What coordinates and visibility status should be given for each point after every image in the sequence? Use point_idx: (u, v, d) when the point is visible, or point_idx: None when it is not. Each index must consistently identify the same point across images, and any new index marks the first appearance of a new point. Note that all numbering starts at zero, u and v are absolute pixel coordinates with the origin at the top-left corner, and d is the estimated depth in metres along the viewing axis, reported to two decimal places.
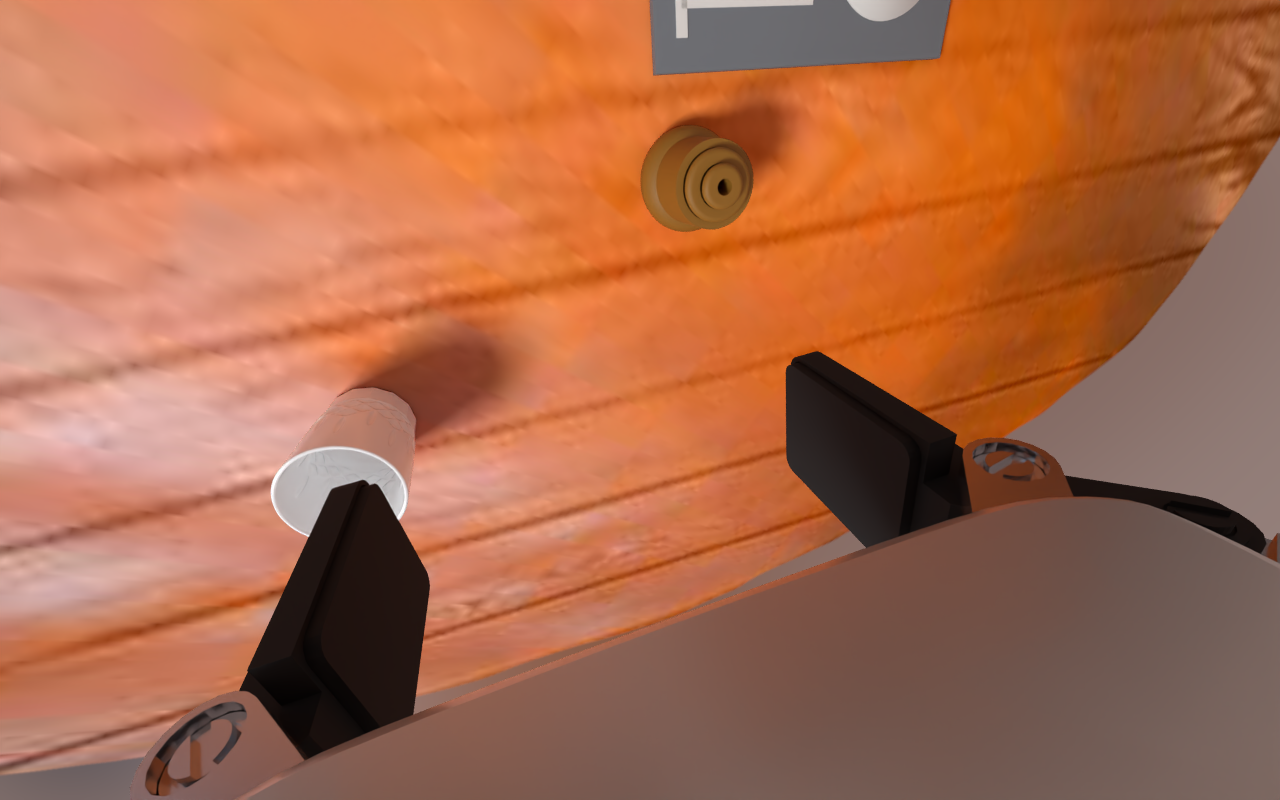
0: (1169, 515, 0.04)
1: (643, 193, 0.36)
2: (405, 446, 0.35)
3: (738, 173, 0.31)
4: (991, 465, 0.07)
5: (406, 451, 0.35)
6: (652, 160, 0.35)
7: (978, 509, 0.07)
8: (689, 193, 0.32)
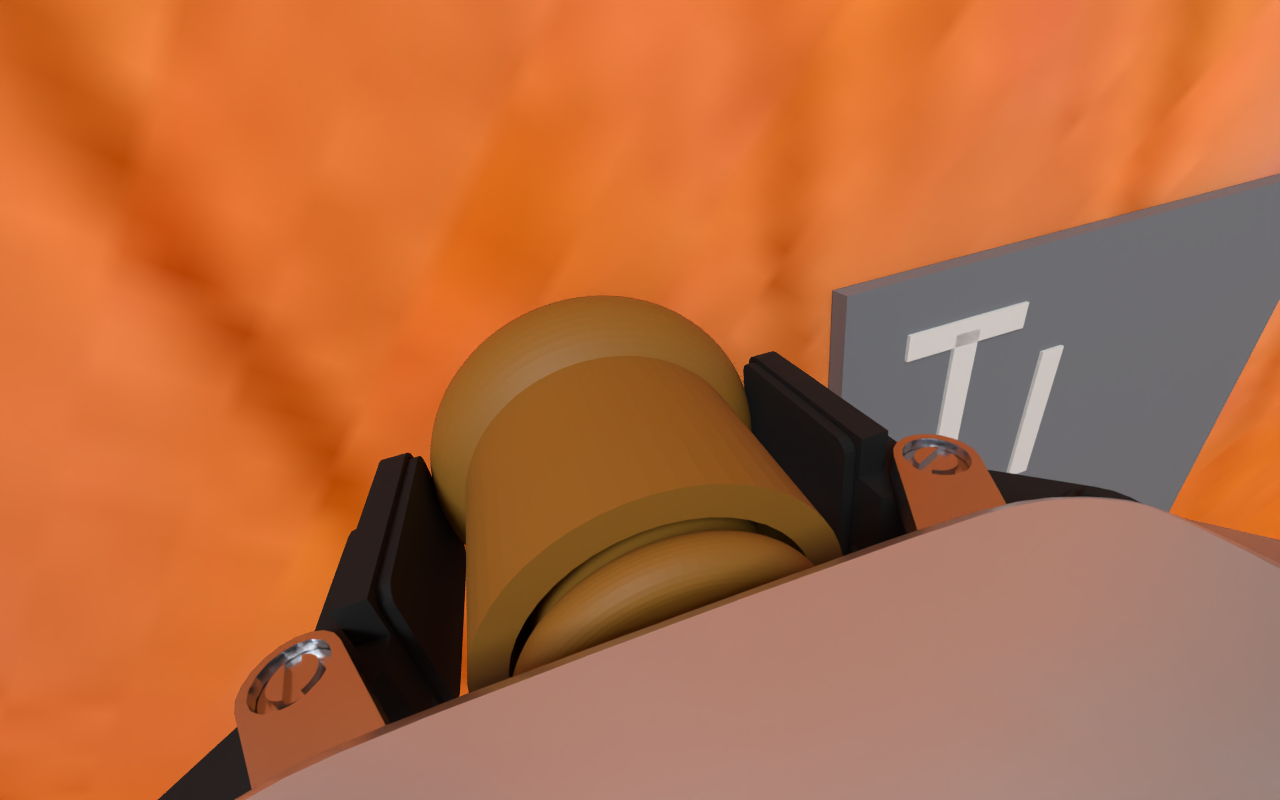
0: (1169, 515, 0.04)
1: (539, 315, 0.09)
2: None
3: None
4: (920, 462, 0.08)
5: None
6: (661, 329, 0.10)
7: (916, 507, 0.07)
8: (649, 588, 0.05)
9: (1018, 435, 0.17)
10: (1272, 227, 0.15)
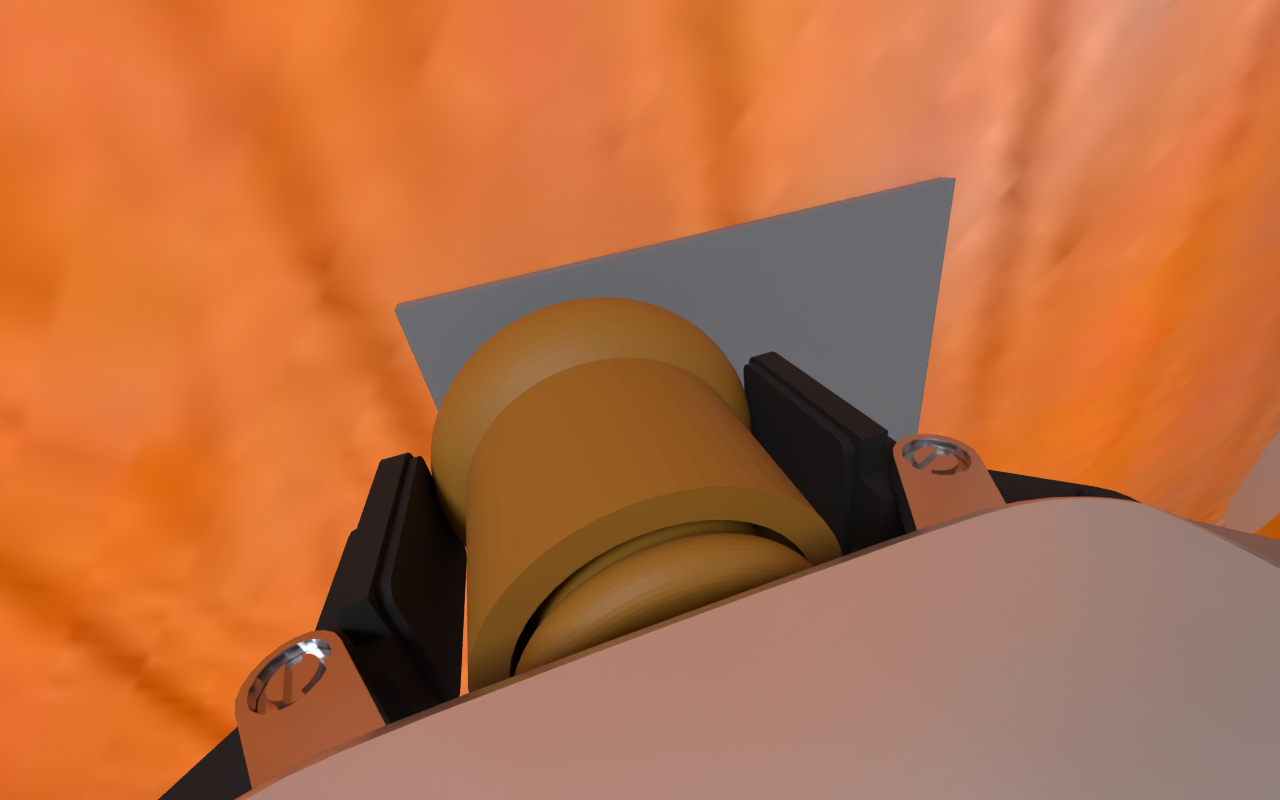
0: (1169, 515, 0.04)
1: (539, 316, 0.09)
2: None
3: None
4: (920, 462, 0.08)
5: None
6: (661, 330, 0.10)
7: (916, 508, 0.07)
8: (650, 591, 0.05)
9: None
10: (890, 239, 0.16)
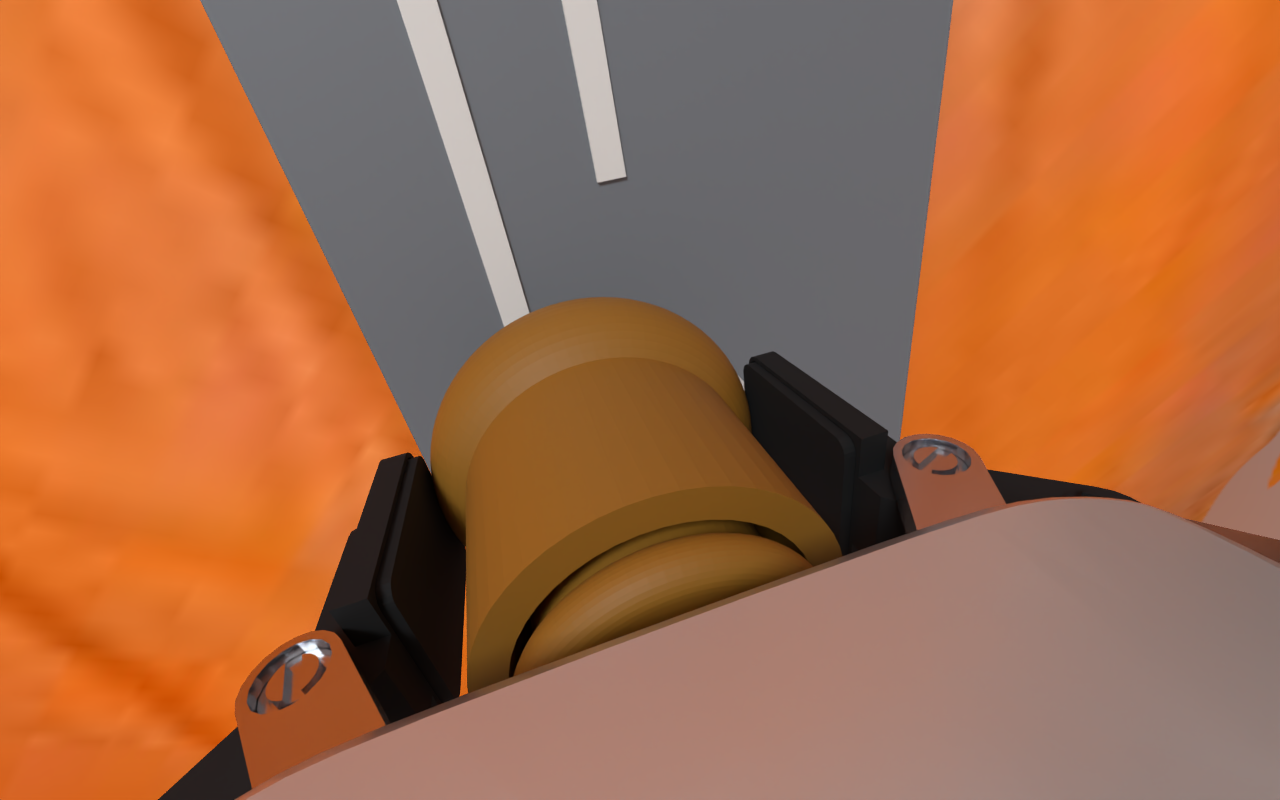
0: (1169, 515, 0.04)
1: (539, 316, 0.09)
2: None
3: None
4: (920, 462, 0.08)
5: None
6: (660, 330, 0.10)
7: (916, 507, 0.07)
8: (649, 591, 0.05)
9: (582, 104, 0.12)
10: None
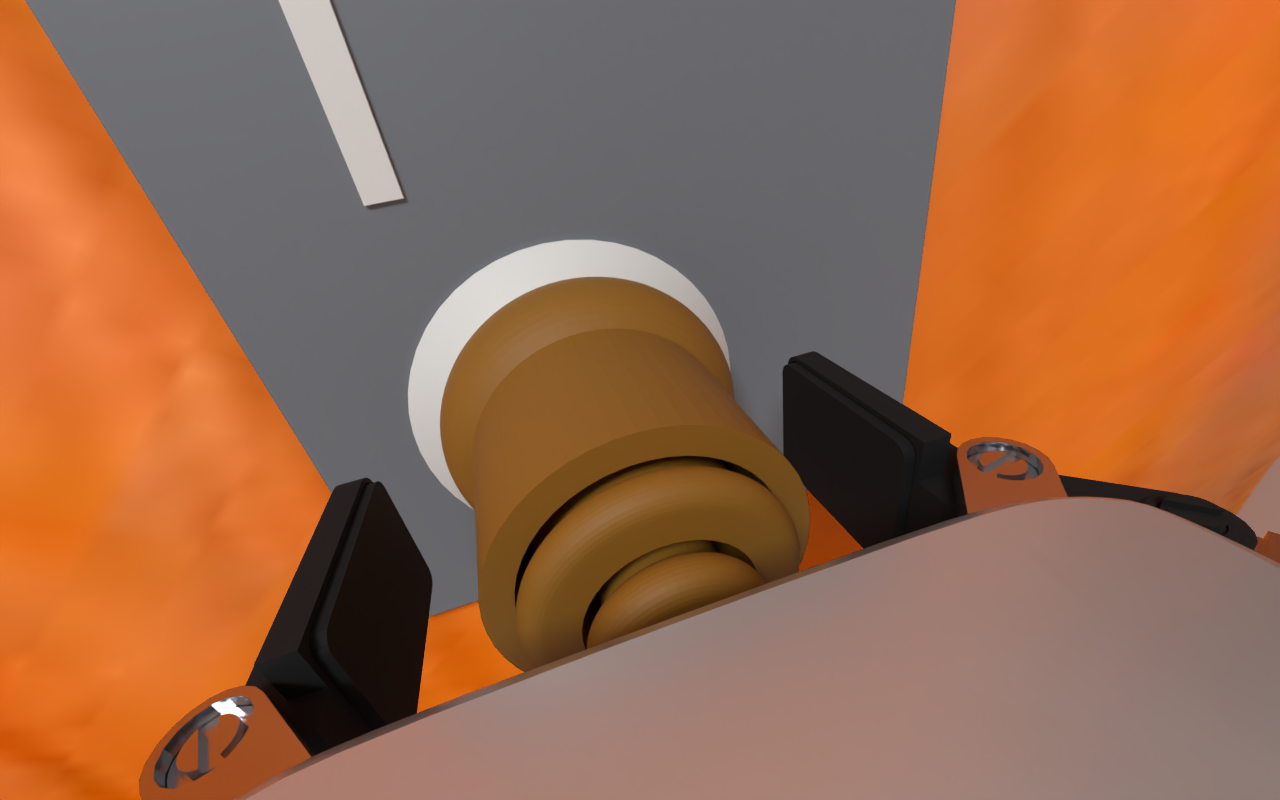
0: (1169, 515, 0.04)
1: (539, 292, 0.10)
2: None
3: None
4: (985, 464, 0.07)
5: None
6: (650, 305, 0.10)
7: (973, 508, 0.07)
8: (635, 509, 0.06)
9: None
10: None
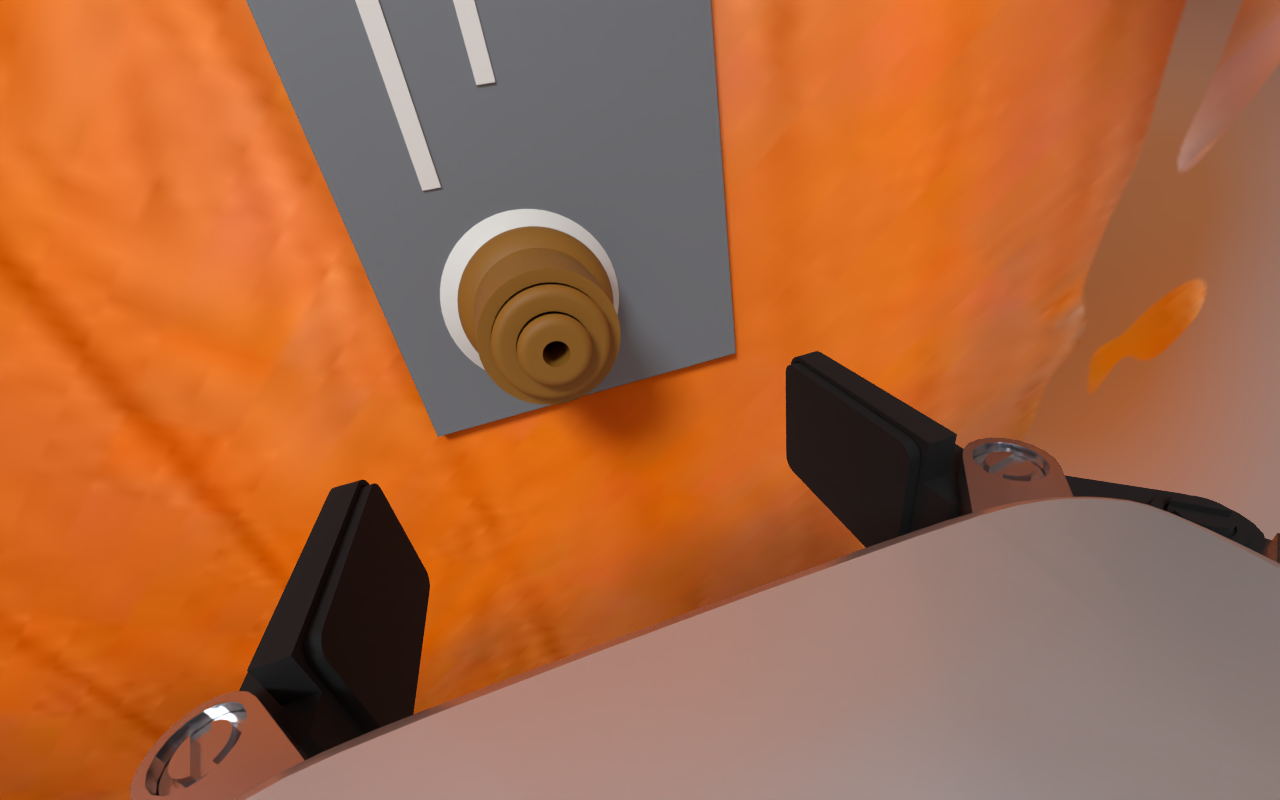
0: (1169, 515, 0.04)
1: (506, 232, 0.22)
2: None
3: (580, 372, 0.18)
4: (991, 465, 0.07)
5: None
6: (559, 238, 0.22)
7: (978, 509, 0.07)
8: (533, 294, 0.18)
9: (462, 32, 0.19)
10: None
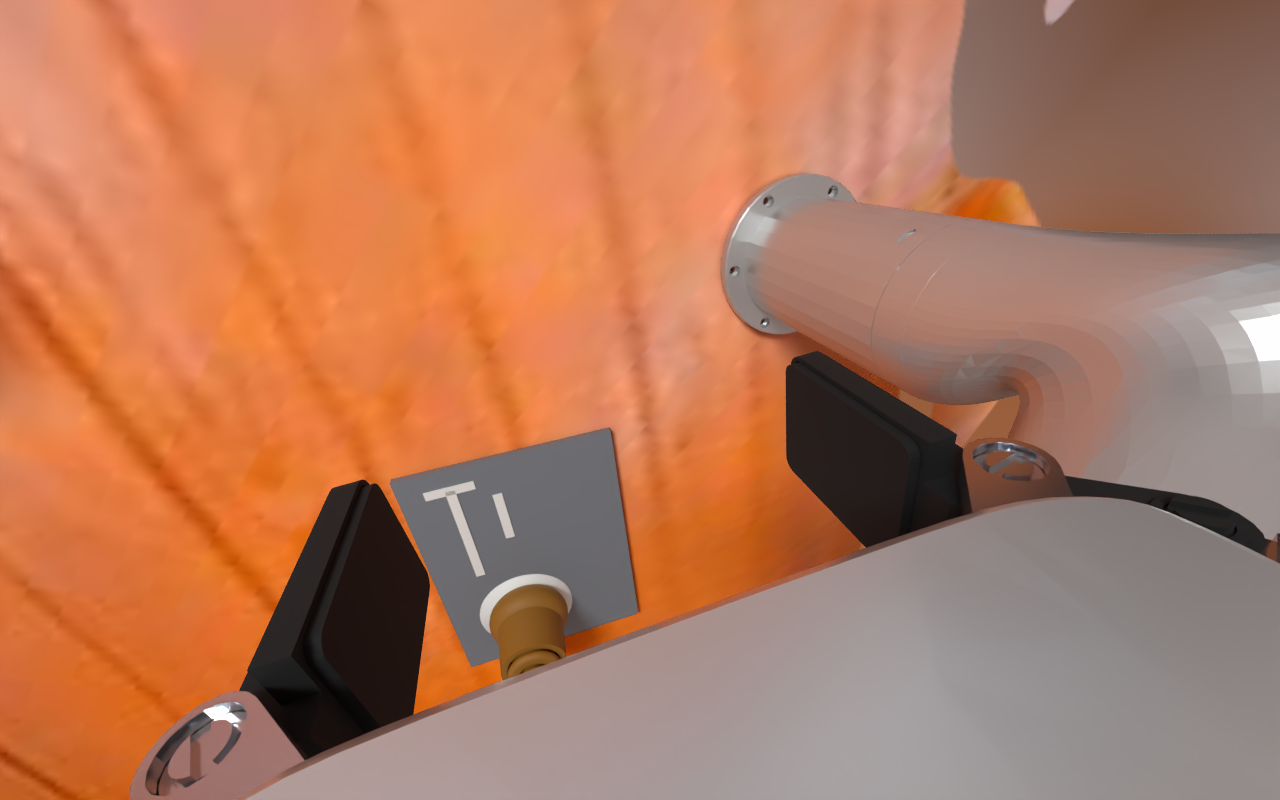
0: (1169, 515, 0.04)
1: (515, 595, 0.45)
2: None
3: None
4: (991, 465, 0.07)
5: None
6: (541, 598, 0.45)
7: (978, 509, 0.07)
8: (527, 659, 0.41)
9: (501, 523, 0.43)
10: (586, 451, 0.42)
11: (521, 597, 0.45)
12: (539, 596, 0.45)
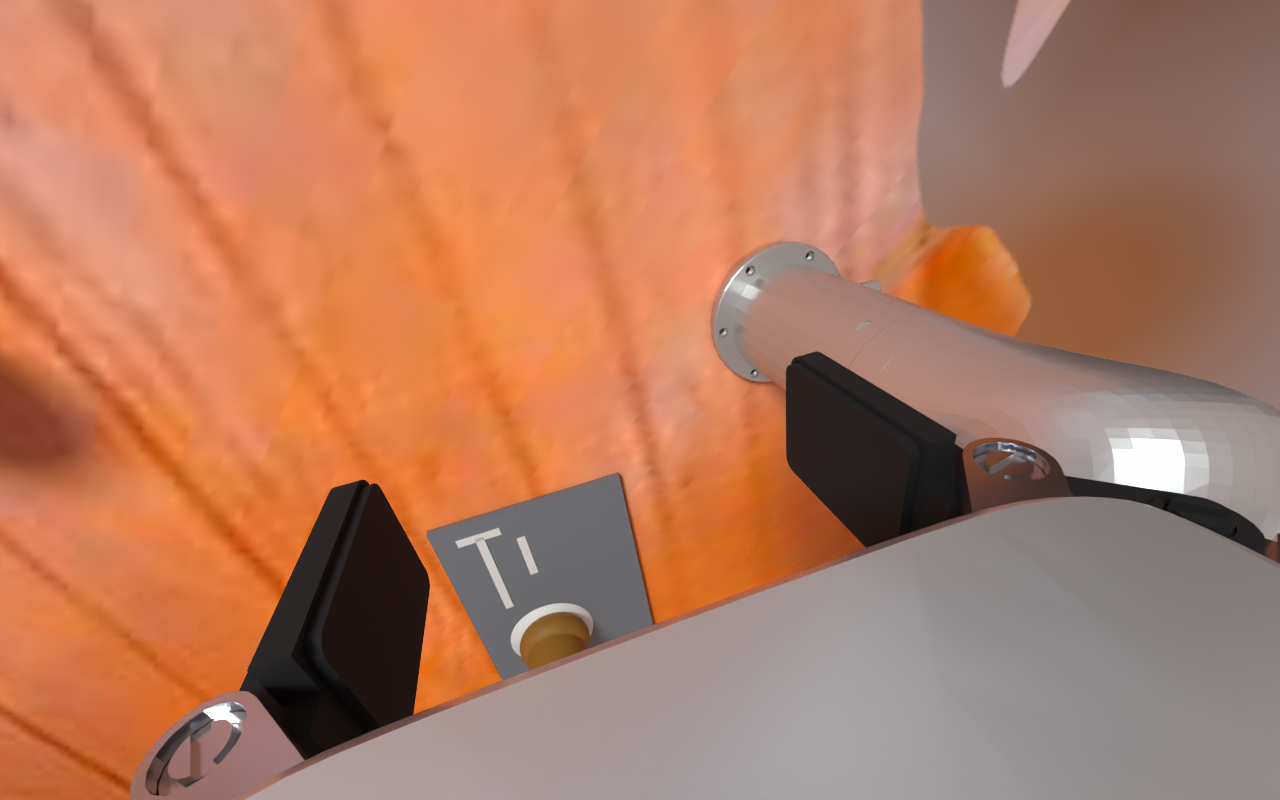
0: (1169, 515, 0.04)
1: (542, 624, 0.50)
2: None
3: None
4: (991, 465, 0.07)
5: None
6: (565, 626, 0.50)
7: (978, 509, 0.07)
8: None
9: (525, 562, 0.47)
10: (598, 495, 0.46)
11: (547, 625, 0.50)
12: (563, 624, 0.50)
